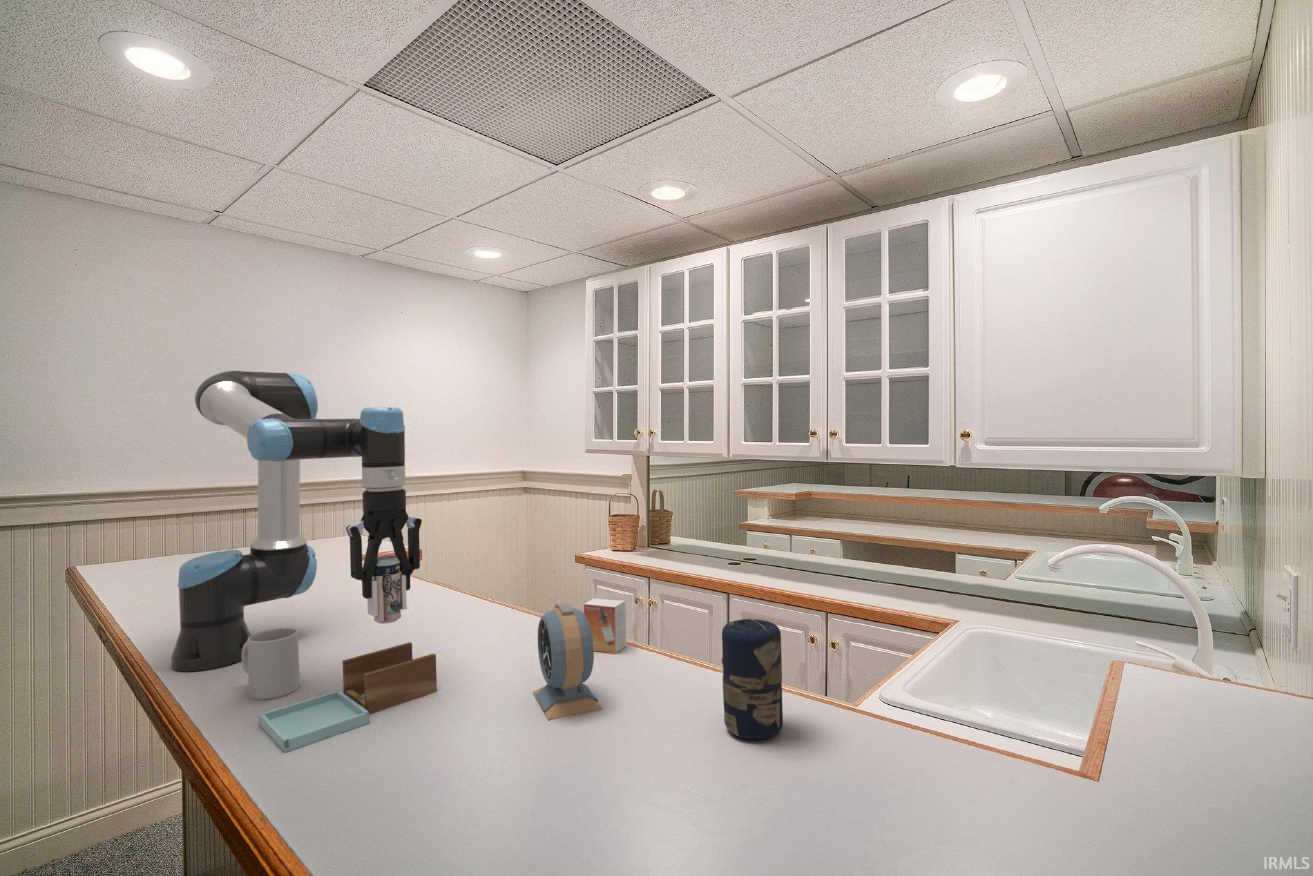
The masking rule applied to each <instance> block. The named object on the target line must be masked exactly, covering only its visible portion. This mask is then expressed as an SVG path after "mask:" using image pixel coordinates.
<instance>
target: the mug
mask: <svg viewBox="0 0 1313 876" xmlns="http://www.w3.org/2000/svg"><path fill="white" fill-rule="evenodd" d="M299 652H300V651H299V632H298V630H297V629H296V628H292V627H291V628H290V627H284V628H283V627H281V628H273V629H267V630H264V631H260V632H257V633H255V634H252V635H251V636H250V637H249V638H248V640H247V642H246V643H245V644H244V645H243V648H242V660H241V664H242V668H243V670H244V672H245V673H246V674H248V678H247V679H248V697H249V698H250V699H253V700H259V701H261V700H263V701H264V700H265V701H266V700H271V699H277V698H280V697H283V696H284V697H285V696H287V695H289V694H292V693H294V692H295V691H297V690H298V689H299V688H300V686H301V679H300V657H299V654H300V653H299Z"/></svg>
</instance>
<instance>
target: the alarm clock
mask: <svg viewBox="0 0 1313 876" xmlns="http://www.w3.org/2000/svg"><path fill="white" fill-rule="evenodd" d="M537 652H538V659H539V665H540V670H541V674H542V677H543V679H544V681H545V683H546V685H544V686H542V687H540V688H538V689H536V690H535V691H532V695H533V697H534V698H535V700H536V702H537V705H538V706H539V707H540V709H541V711H542V713H543V715H544V717H545V718H546V720H547V721H552V720H557V719H562V718H567V717H571V716H576V715H580V714H586V713H591V712H594V711H595V712H596V711H600V710H603V707H602V705H601V704H600V703H599V699H598V698H597V697H596V696H595V694H594V693H593V692H592V691H591V690H590V688H589V687H588V685H587V684H585V682H586V681H587V680H588V679H590V677H591V675H592V672H593V668H594V662H595V660H594V659H595V657H594V656H595V651H594V648H593V639H592V633H591V629H590V625H589V622H588V620H587V618H586V616H585V614H584V611H582V610H580V609H578V608H576V607H572V605H570V603H568V602H564V603H563V602H561V603H556V604H554V608H553V609H551V610H550V611H547V612H546V613H544V614H543V615H542V616H541V617H540V620H539V622H538V627H537Z"/></svg>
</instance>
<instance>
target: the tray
mask: <svg viewBox="0 0 1313 876" xmlns="http://www.w3.org/2000/svg"><path fill="white" fill-rule="evenodd" d="M370 717H371V716H370V712H368V711H367V710H366V709H364V708H363V707H361V706H360V705H359V704H357V703H356V702H354V701H353V700H352V699H350V698H349V697H347V696H346V695H345V694H344V692H342V691H340V690H335V691H332V692H330V693H326V694H322V695H319V696H316V697H312V698H309V699H305V700H301V701H300V702H296V703H293V704H289V705H286V706H282V707H279V708H276V709H273V710H269V711H266V712H262V713H260V714H258V725H259V726H260V728H262V730H263V731H264V732H265V733H266V735H268V736H269V737H270V738H271V740H273V741H274V742H275V744H276V745H277V746H278V747H279V748H280V749H281V750H282V751H283V752H284V753H288V752H291V751H293V750H296V749H298V748H302V747H304V746H308V745H310V744H314V743H317V742H318V741H322V740H325V739H327V738H330V737H334V736H336V735H340V734H342V733H344V732H348V731H350V730H354V729H356V728H359V727H362V726H364V725H368V724H370V723H371V720H370V719H371V718H370Z"/></svg>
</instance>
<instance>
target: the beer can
mask: <svg viewBox="0 0 1313 876" xmlns="http://www.w3.org/2000/svg"><path fill="white" fill-rule="evenodd" d="M399 563H400V561H399V560H398V558H397V556H395V555H383V556H381V555H380V556H377V561H376V565H375V570H374V575H373V580H376V581H377V599H378V616H373V617H374V618H373V621H374V622H376V623H378V624H384V625H385V624H391V623H395V622H397V621H398V620H399V619H400V618H401V617H402V609H401V604H400V574H401V572H400V565H399Z"/></svg>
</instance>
